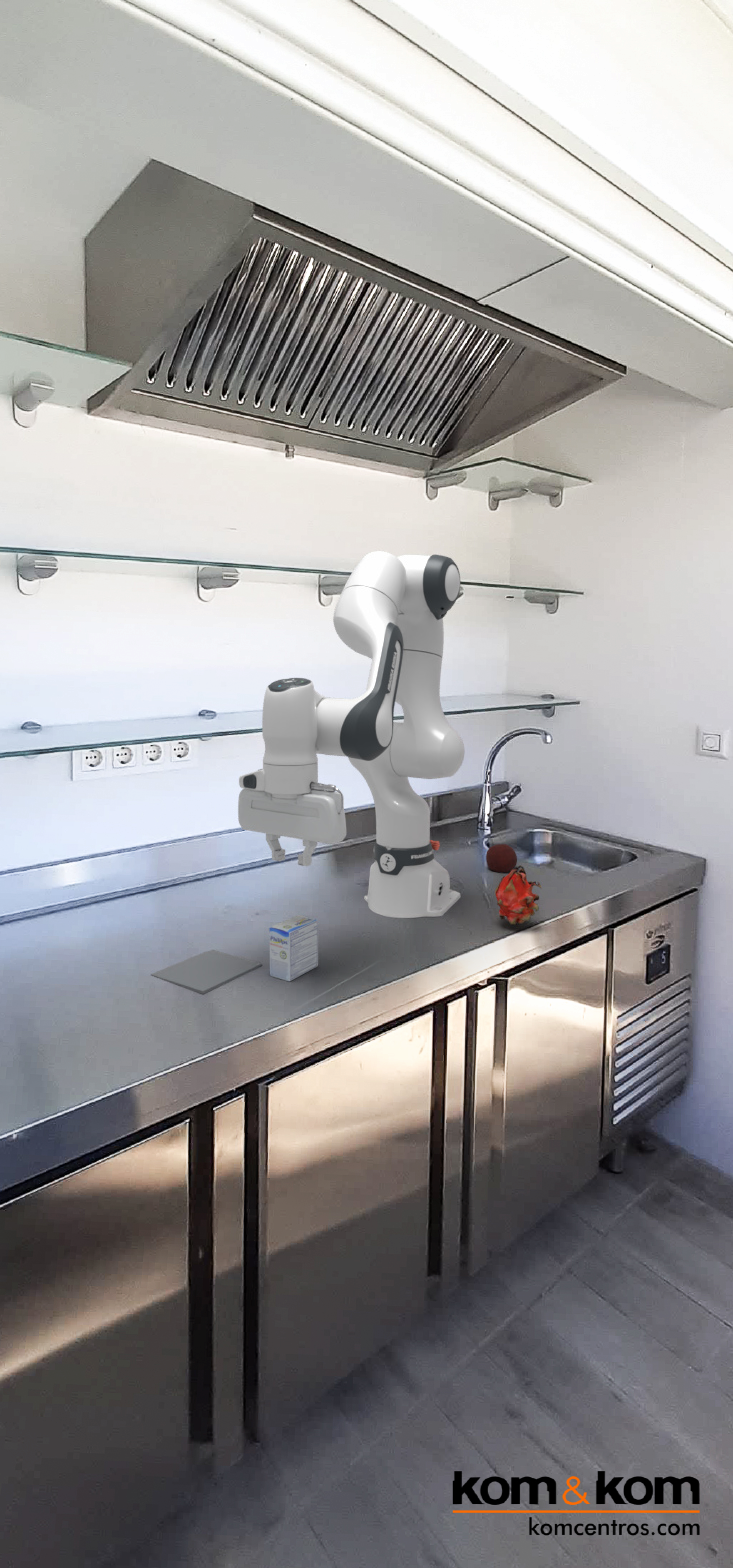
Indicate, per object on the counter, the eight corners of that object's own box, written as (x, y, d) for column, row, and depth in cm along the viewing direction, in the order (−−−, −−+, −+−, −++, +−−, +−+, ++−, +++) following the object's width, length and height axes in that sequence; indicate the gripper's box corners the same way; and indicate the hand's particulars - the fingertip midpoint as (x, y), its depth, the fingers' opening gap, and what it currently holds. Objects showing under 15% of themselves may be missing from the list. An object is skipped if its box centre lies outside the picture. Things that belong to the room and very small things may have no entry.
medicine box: (298, 962, 143) (298, 914, 142) (319, 967, 141) (318, 918, 140) (269, 976, 137) (268, 926, 136) (290, 982, 135) (289, 931, 133)
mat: (211, 952, 148) (211, 949, 148) (262, 966, 141) (261, 963, 141) (150, 977, 136) (150, 974, 136) (203, 994, 130) (203, 991, 130)
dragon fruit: (517, 935, 157) (520, 874, 155) (484, 924, 163) (486, 865, 161) (546, 926, 162) (548, 867, 160) (512, 915, 169) (514, 858, 167)
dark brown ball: (479, 870, 203) (480, 842, 202) (506, 867, 206) (507, 839, 205) (496, 878, 197) (497, 849, 195) (523, 874, 200) (524, 846, 199)
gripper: (354, 783, 130) (354, 868, 132) (256, 772, 141) (258, 850, 144) (330, 788, 125) (330, 877, 127) (231, 776, 136) (233, 857, 139)
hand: (291, 862), depth 136 cm, fingers open, 4 cm apart
